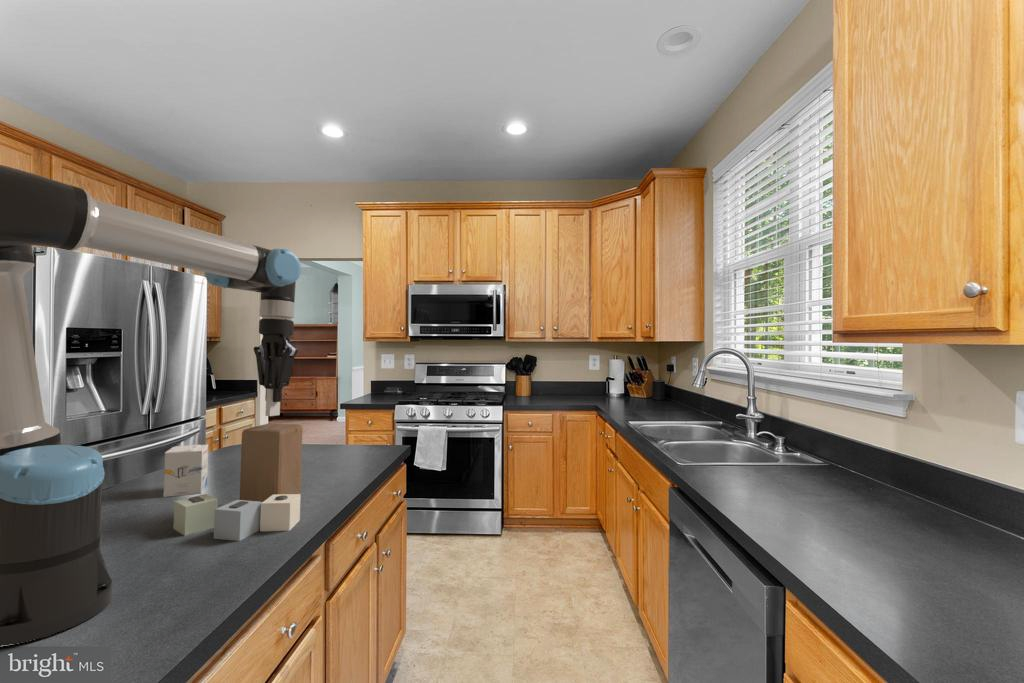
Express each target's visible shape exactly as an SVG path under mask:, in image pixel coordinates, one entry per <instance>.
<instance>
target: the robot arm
mask: <svg viewBox="0 0 1024 683" xmlns="http://www.w3.org/2000/svg"><path fill="white" fill-rule="evenodd" d="M33 246H39V247H49V248H53V249H59V250H64V251H70V252H73V251H76V250H78V249H80V248H83V247H84V248H88V249H92V250H98V251H102V252H106V253H107V252H108V253H113V254H116V255H121V256H127V257H131V258H136V259H141V260H146V261H149V262H153V263H154V262H155V263H159V264H165V265H168V266H169V265H170V266H174V267H179V268H183V269H189V270H192V271H193V270H194V271H197V272H202V273H204V276H205V279H206V281H207V282H208V283H209V284H210V285H212V286H214V287H220V288H222V289H232V290H233V289H234V290H241V291H250V292H255V293H260V294H259V295H260V299H259V314H258V316H259V317H261V318H260V319H259V321H258V334H260V335H262V338H261V341H260V345H259V346H254V347H253V352H254V354H255V359H256V367H257V376H258V383H259V385H260V386H263V387H264V388H265V394H264V395H265V397H264V398H265V399H264V400H265V417H275V416H280V414H281V402H282V394H283V392H282V391H283V388H285V387H288V386H289V385H290V382H291V376H292V373H293V372H292V371H293V368H294V362H295V358H296V356H297V354H298V352H299V348H298V347H293V345H292V342H291V338H290V337H291V336H293V335H294V323H295V322H294V321H293V320H292V319H294V318H295V317H294V316H295V297H296V296H295V295H296V282H297V280H298V279H299V278H300V276H301V272H302V264H301V261H300V259H299V257H298V256H297V255H296V254H295V252H293V251H291V250H289V249H285V248H273V249H269V248H266V247H262V246H260V245H259V246H258V245H254V244H250V243H247V242H245V241H240V240H237V239H234V238H230V237H226V236H223V235H219V234H216V233H213V232H208V231H205V230H203V229H202V230H201V229H198V228H195V227H193V226H190V225H189V226H188V225H185V224H181V223H177V222H174V221H170V220H168V219H164V218H160V217H157V216H153V215H150V214H146V213H143V212H139V211H137V210H134V209H129V208H126V207H122V206H119V205H116V204H112V203H108V202H105V201H101V200H98V199H96V198H95V199H94V198H93V197H92V196H91V194H90V193H89V192H88V191H87V190H86V189H84V188H81V187H77V186H75V185H71V184H68V183H64V182H62V181H58V180H55V179H51V178H48V177H45V176H42V175H38V174H35V173H32V172H28V171H25V170H21V169H18V168H14V167H11V166H6V165H2V164H0V646H1V645H9V644H17V643H21V642H26V641H30V640H34V639H38V638H41V639H44V638H47V637H50V636H53V635H55V633H56V634H58V633H57V632H59V633H61V632H63V630H64V631H66V630H68V628H69V629H71V628H73V627H75V626H78V625H80V624H82V623H83V622H86V621H87V620H90V619H91V618H94V617H95V616H96V615H98V614H99V613H101V612H102V611H103V610H104V609H105V608H107V606H109V605H110V603H112V600H113V598H114V580H113V578H112V575H111V572H110V570H109V567H108V566H107V564H106V561H105V558H104V556H103V554H102V552H101V529H102V528H101V527H102V512H103V511H102V510H103V507H102V506H103V489H104V488H103V487H104V480H105V474H106V472H105V468H104V464H103V463H104V461H103V456H102V454H101V453H100V452H99V451H98V450H96V449H94V448H91V447H88V446H83V445H70V444H63V443H62V438H61V432H60V429H59V428H57V427H56V426H53V425H51V424H49V423H47V422H46V421H45V415H44V407H43V401H42V395H41V394H42V393H41V389H40V382H39V376H38V370H37V369H38V368H37V362H36V355H35V349H34V343H33V336H32V330H31V324H30V317H29V310H28V309H29V308H28V303H27V297H26V291H25V285H24V284H25V283H24V278H23V277H24V276H25V274H27V273H28V272H29V271H30V270H31V269H33V268H34V267H35V260H34V253H33ZM60 631H61V632H60ZM52 634H53V635H52ZM43 637H44V638H43ZM38 640H39V639H38ZM34 641H35V640H34Z"/></svg>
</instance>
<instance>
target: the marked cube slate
mask: <svg viewBox="0 0 1024 683" xmlns="http://www.w3.org/2000/svg"><path fill="white" fill-rule="evenodd" d="M261 503H262V502H258V501H246V500H240V499H236V500H233V501H231V502H229V503H226V504H224V505H221V506H218V508H216V509H215V515H214V528H213V539H217V540H226V541H237V542H240V541H243V540H244V539H246V538H248V537H250V536H252V535H254V534H255V533H257V532H259V531H260V517H261Z"/></svg>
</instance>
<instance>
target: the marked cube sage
mask: <svg viewBox="0 0 1024 683" xmlns="http://www.w3.org/2000/svg"><path fill="white" fill-rule="evenodd" d="M173 504H174V505H173V508H174V509H173V530H174V531H175V532H178V533H179V534H180V535H183V536H184V537H186V536H188V535H193V534H195V533H196V534H197V533H199V531H200V532H203V530H204V531H207V530H210V529H214V515H215V509H216V508H219V505H218V504H219V499H218V498H216V497H213V496H211V495H209V494H207V493H204V494H200V495H199V494H198V495H195V496H191V497H186V498H182V499H179V500H178V499H177V500H174V501H173ZM192 533H193V534H192Z"/></svg>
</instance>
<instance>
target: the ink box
mask: <svg viewBox="0 0 1024 683" xmlns="http://www.w3.org/2000/svg"><path fill="white" fill-rule="evenodd" d="M208 468H209V444H208V443H207V444H190V445H179V446H173V447H171V448H169V449H168V450H166V451H165V452H164V475H163V476H164V477H163V494H162V495H163V498H166V497H169V498H170V497H177V496H189V495H199V494H200V495H202V493H203V491H204V490H205V488H206V487H207V485H208V475H209V474H208V470H209V469H208Z"/></svg>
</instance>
